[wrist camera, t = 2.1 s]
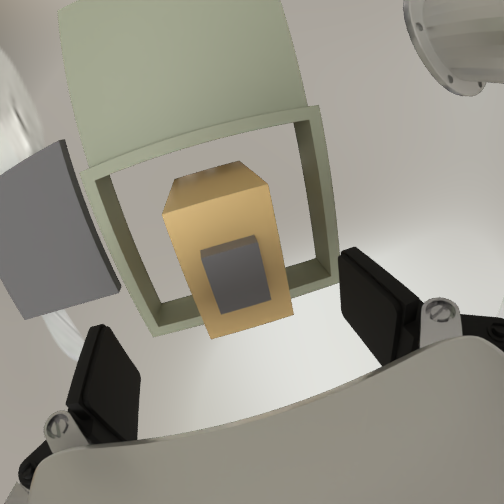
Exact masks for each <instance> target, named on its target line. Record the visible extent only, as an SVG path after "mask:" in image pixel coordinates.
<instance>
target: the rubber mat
mask: <svg viewBox="0 0 504 504" xmlns="http://www.w3.org/2000/svg"><path fill="white" fill-rule="evenodd" d="M0 278H1V280H2V282H3V284H4V286H5V287H6V289H7V291H8V293H9V294H10V296H11V298H12V300H13V302H14V303H15V305H16V307H17V308H18V310H19V311H20V313H21V315H22V316H23V318H24V319H25V320H26V319H30V318H33V317H36V316H40V315H44V314H47V313H51V312H54V311H58V310H61V309H65V308H68V307H71V306H75V305H78V304H82V303H85V302H89V301H92V300H96V299H99V298H102V297H106V296H110V295H113V294H117V293H119V291H120V289H121V284H120V282H119V280H118V278H117V276H116V274H115V272H114V270H113V267H112V265H111V263H110V261H109V259H108V257H107V254H106V252H105V250H104V248H103V245H102V243H101V241H100V239H99V236H98V234H97V232H96V229H95V227H94V224H93V221H92V219H91V217H90V214H89V211H88V209H87V206H86V203H85V201H84V198H83V195H82V192H81V189H80V187H79V184H78V181H77V178H76V175H75V172H74V169H73V166H72V162H71V159H70V156H69V153H68V149H67V145H66V142H65V140H59V141H57V142H55V143H53V144H51V145H49V146H48V147H46V148H44V149H42V150H40V151H39V152H37V153H35V154H33V155H32V156H30V157H28V158H27V159H25V160H23V161H22V162H20V163H19V164H17V165H16V166H14V167H12V168H11V169H9V170H8V171H6V172H5V173H3V174H2V175H0Z"/></svg>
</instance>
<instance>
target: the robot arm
mask: <svg viewBox="0 0 504 504" xmlns="http://www.w3.org/2000/svg"><path fill="white" fill-rule="evenodd" d="M403 11H404V19H405V22H406V26H407V30H408V33H409V36H410V38H411V41H412V43H413V45H414V47H415V49H416V51H417V54H418V55H419V57H420V58H421V60H422V62H423V63H424V65H425V67H426V68H427V69H428V71H429V72H430V73H431V75H432V76H433V77H434V78H435V79H436V80H437V81H438V82H439V83H440V84H441V85H442V86H443V87H444V88H446V89H447V90H448V91H450V92H452V93H454V94H456V95H460V96H474V95H477V94H478V93H480V92H481V91H482V90H483V88H484V87H485V85H486V82H491V83H503V84H504V0H404V3H403ZM338 270H339V283H340V298H341V311H342V314H343V316H344V318H345V319H346V320H347V322H348V323H349V324H350V325H351V327H352V328H353V329H354V331H355V332H356V333H357V334H358V336H359V337H360V338H361V339H362V341H363V342H364V343H365V345H366V346H367V347H368V348H369V350H370V351H371V352H372V354H373V355H374V356H375V358H376V359H377V360H378V361H379V363H380V364H381V365H382V367H381V368H378V369H376V370H374V371H372V372H370V373H367V374H366V375H363V376H361V377H359V378H357V379H354V380H352V381H350V382H347V383H345V384H343V385H341V386H338V387H336V388H333V389H331V390H328V391H326V392H323V393H321V394H318V395H316V396H313V397H310V398H308V399H305V400H302V401H299V402H296V403H294V404H291V405H288V406H285V407H282V408H279V409H276V410H273V411H270V412H266V413H263V414H260V415H256V416H253V417H249V418H246V419H242V420H239V421H235V422H231V423H227V424H223V425H219V426H214V427H210V428H205V429H201V430H196V431H191V432H186V433H181V434H175V435H169V436H163V437H156V438H149V439H142V440H137V432H138V410H139V394H140V382H141V377H140V373H139V371H138V370H137V368H136V367H135V365H134V364H133V363H132V361H131V360H130V358H129V357H128V355H127V354H126V352H125V351H124V349H123V348H122V346H121V345H120V343H119V341H118V340H117V338H116V337H115V335H114V334H113V332H112V330H111V329H110V327H108V326H107V327H106V326H105V325H104V324H100V325H97V326H93V327H90V329H89V331H88V334H87V337H86V340H85V342H84V345H83V348H82V351H81V354H80V357H79V360H78V363H77V367H76V370H75V373H74V376H73V379H72V383H71V387H70V390H69V394H68V398H67V401H66V405H67V407H68V411H57V412H55V413H53V414H52V415H51V416H50V417H49V418H48V419H47V421H46V423H45V426H44V435H45V438H46V440H45V441H44V442H43V443H42V444H41V445H40V446H39V447H38V448H37V449H36V450H35V451H34V452H33V453H31V455H29V456H28V457H27V458H26V459H25V460H24V461H23V462H22V464H21V465H20V467H19V472H18V474H19V475H18V476H19V480H20V484H19V483H18V482H16V484H15V486H14V487H13V489H12V491H11V492H10V494H9V496H8V498H7V500H6V501H5V503H4V504H504V319H503V318H498V317H486V316H475V315H465V314H464V315H463V314H460V311H459V308H458V306H457V305H456V304H455V303H454V302H452V301H451V300H449V299H446V298H440V297H439V298H432V299H429V300H428V301H426V302H425V303H423V302H422V301H421V300H420V299H419V298H418V297H417V296H416V295H415V294H414V293H413V292H411V291H410V290H409V289H408V288H407V287H405V286H404V285H403V284H402V283H401V282H399V281H398V280H397V279H395V278H394V277H393V276H392V275H391V274H390V273H388V272H387V271H386V270H385V269H383V268H382V267H381V266H379V265H378V264H377V263H376V262H374V261H373V260H372V259H371V258H369V257H368V256H367V255H365V254H364V253H363V252H362V251H360V250H359V249H358V248H356V247H352V248H349V249H346V250H343V251H342V252H341V255H340V256H338Z"/></svg>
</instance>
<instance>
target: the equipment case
mask: <svg viewBox="0 0 504 504" xmlns="http://www.w3.org/2000/svg"><path fill="white" fill-rule="evenodd" d="M58 23H59V33H60V41H61V48H62V55H63V61H64V68H65V73H66V78H67V84H68V88H69V94H70V98H71V103H72V106H73V111H74V115H75V119H76V123H77V127H78V131H79V134H80V138H81V141H82V145H83V149H84V152H85V155H86V159H87V162H88V165H89V169H87V170H85V171H83V172H80V176H81V179H82V182H83V185H84V188H85V191H86V194H87V196H88V199H89V202H90V205H91V207H92V210H93V212H94V215H95V218H96V220H97V222H98V225H99V228H100V230H101V233H102V235H103V237H104V240H105V242H106V244H107V247H108V249H109V251H110V254H111V256H112V258H113V260H114V262H115V265H116V267H117V269H118V271H119V273H120V275H121V277H122V279H123V281H124V283H125V286H126V288H127V290H128V291H129V294H130V295H131V297H132V299H133V301H134V303H135V305H136V307H137V309H138V311H139V313H140V315H141V316H142V318H143V320H144V322H145V324H146V326H147V327H148V329H149V331H150V332H151V334H152V336H153V337H156V336H160V335H165V334H168V333H172V332H176V331H180V330H184V329H188V328H192V327H196V326H200V325H203V324H204V322H203V320H202V317H201V315H200V313H199V310H198V308H197V305H196V303H195V301H194V298H193V296H192V295H190V296H187V297H183V298H179V299H176V300H172V301H168V302H165V303H161V302H160V300H159V298H158V295H157V293H156V291H155V289H154V287H153V285H152V282H151V280H150V278H149V276H148V273H147V271H146V269H145V267H144V264H143V262H142V260H141V257H140V255H139V253H138V250H137V248H136V245H135V243H134V240H133V238H132V235H131V233H130V231H129V228H128V225H127V223H126V220H125V218H124V215H123V212H122V209H121V207H120V204H119V201H118V198H117V195H116V192H115V190H114V187H113V184H112V181H111V178H110V175H109V174H112V173H114V172H117V171H120V170H122V169H125V168H127V167H130V166H133V165H136V164H139V163H141V162H144V161H147V160H150V159H153V158H155V157H159V156H162V155H165V154H167V153H171V152H174V151H177V150H181V149H184V148H187V147H191V146H194V145H198V144H201V143H205V142H208V141H212V140H216V139H220V138H224V137H228V136H232V135H236V134H239V133H244V132H248V131H253V130H257V129H262V128H267V127H272V126H277V125H282V124H287V123H292V122H293V123H294V127H295V132H296V137H297V142H298V148H299V153H300V158H301V163H302V169H303V175H304V181H305V186H306V192H307V198H308V205H309V211H310V218H311V224H312V231H313V238H314V246H315V253H316V258H315V259H312V260H309V261H306V262H303V263H299V264H296V265H292V266H289V267H286V268H285V270H286V275H287V281H288V286H289V291H290V297H291V299H292V298H295V297H298V296H301V295H304V294H307V293H310V292H313V291H316V290H319V289H322V288H325V287H328V286H331V285H333V284H337V283H339V270H338V256H340V252H339V240H338V230H337V220H336V211H335V202H334V195H333V187H332V179H331V173H330V166H329V160H328V153H327V146H326V141H325V135H324V129H323V124H322V119H321V114H320V108H319V105H316V106H308V105H307V101H306V96H305V91H304V87H303V82H302V78H301V74H300V70H299V66H298V62H297V58H296V54H295V50H294V46H293V42H292V38H291V35H290V31H289V28H288V25H287V21H286V17H285V14H284V11H283V8H282V4H281V1H280V0H78V1H76V2H74V3H72V4H70V5H68V6H66V7H64V8H62V9H61V10H59V11H58Z"/></svg>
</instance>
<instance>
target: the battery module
mask: <svg viewBox="0 0 504 504" xmlns="http://www.w3.org/2000/svg"><path fill="white" fill-rule="evenodd" d="M162 216H163V219H164V222H165V225H166V228H167V231H168V233H169V236H170V239H171V242H172V244H173V247H174V250H175V252H176V255H177V258H178V260H179V263H180V266H181V268H182V271H183V273H184V276H185V278H186V281H187V283H188V286H189V288H190V291H191V293H192V296H193V298H194V301H195V303H196V305H197V308H198V310H199V313H200V315H201V317H202V320H203V322H204V324H205V326H206V329H207V331H208V333H209V336H210V338H211V339H214V338H217V337H221V336H225V335H228V334H232V333H236V332H239V331H242V330H246V329H249V328H253V327H256V326H259V325H263V324H266V323H269V322H272V321H276V320H279V319H282V318H285V317H288V316H291V315H294V314H293V308H292V302H291V297H290V291H289V286H288V281H287V275H286V270H285V265H284V260H283V255H282V250H281V245H280V240H279V234H278V229H277V225H276V220H275V215H274V210H273V205H272V200H271V196H270V191H269V186H268V184H267V183H266V182H265V181H264V180H262V179H261V178H260V177H259V176H258V175H256V174H255V173H254V172H253V171H251V170H250V169H249V168H248V167H246V166H245V165H244V164H243V163H241V162H240V161H236V162H232V163H229V164H225V165H221V166H217V167H214V168H210V169H207V170H203V171H200V172H196V173H193V174H190V175H186V176H183V177H180V178H177V179H175V180H174V182H173V185H172V188H171V190H170V193H169V196H168V199H167V201H166V204H165V207H164V210H163V213H162Z"/></svg>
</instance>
